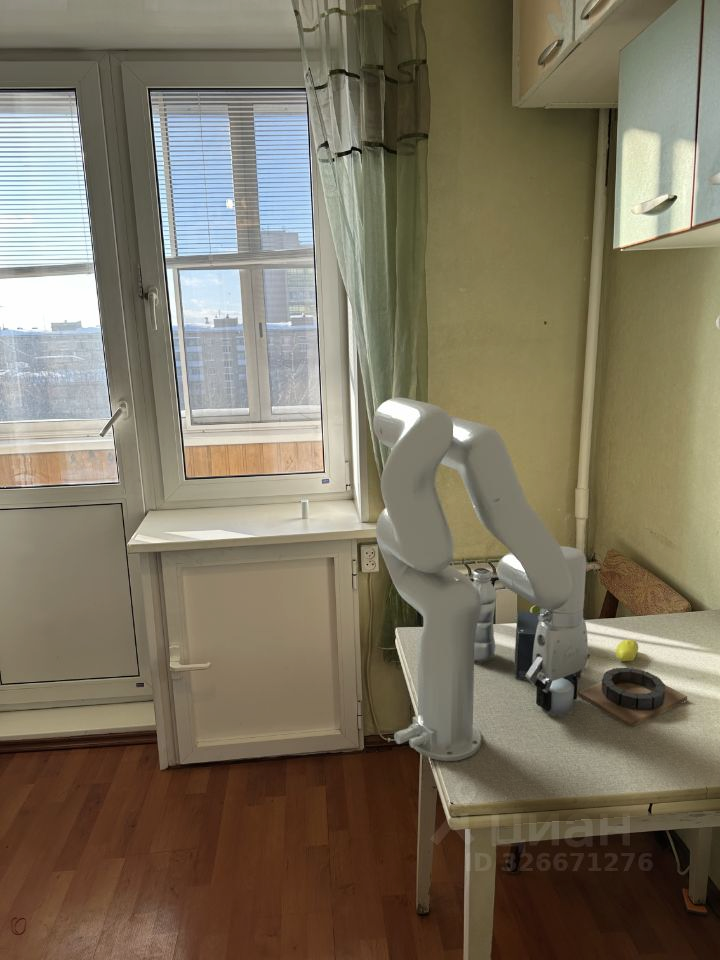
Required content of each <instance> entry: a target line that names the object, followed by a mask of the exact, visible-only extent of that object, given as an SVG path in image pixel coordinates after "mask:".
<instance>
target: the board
mask: <svg viewBox="0 0 720 960" xmlns="http://www.w3.org/2000/svg"><path fill="white" fill-rule="evenodd" d="M615 686H616V687H618V688H620V689H622V690H624V691H627V692H631V693H635V694H646V693H650V692H651V691H650V690H648V689H647V688H645V687H643V686H640V685H636V684H632V683H619V684H617V685H615ZM665 686H666V689H665V698H664V703H663V705H662V706H661V707H658V708H656V709H654V710H645V711H637V709H636V710H632V709H628V708H624V707H621V705H620V706H618V705H616V704H614V703H613V702H611V701H609V700H607V699H606V697H605V696H604V694H603V693H602V690H601V689H602V682H599V683H597V684H594V685H592V686H590V687H587V688H585V689H583V690H581V691H578V697H579V698H580V699H582V700H584V702H585V701H586V702H587V703H589V704H590V705H592V706H594V707H595V708H597V709H598V710H599V711H601V712H604V714H607V715H609V717H612V718H614V719H615V720H616V721H618V722H620V723H622V724H624V725H625V726H627V727H629V728H630V729H631V728H633V727H635V726H637V725H640V724H641V723H644V722H646V721H648V720H650V719H652V718H654V717H656V716H659V715H660V714H663V713H665V712H667V711H669V710H671V709H673V708H675V707H678V706H679V705H681V703H682V702H684V701H686V700H687V701H688V695H685V694H683V693H682V692H680V691H678V690H676V689H674V688H673V687H670V686H668V685H666V684H665ZM687 701H686V702H687ZM684 703H685V702H684ZM678 704H679V705H678ZM682 704H683V703H682Z"/></svg>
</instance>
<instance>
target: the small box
mask: <svg viewBox="0 0 720 960" xmlns="http://www.w3.org/2000/svg"><path fill="white" fill-rule="evenodd" d="M539 615H540V613H533V612H530V611H521V610H517V611H516V632H515V647H514V675H515V676H514V678H515V680H528V679H527V678H526V677H525V676H526V674H527V672H528V670H529V669H530V667H531V666H532V664H533V648H534V640H535V635H536V630H537V626H538V622H539V620H538V616H539ZM545 678H546V677H544V676H543V679H545ZM543 679H542V680H543ZM528 681H529V680H528Z"/></svg>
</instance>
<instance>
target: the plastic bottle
mask: <svg viewBox="0 0 720 960" xmlns="http://www.w3.org/2000/svg"><path fill="white" fill-rule="evenodd" d="M491 571H492V570H491V569H490V568H488V567H476V568H474V569H473V572H472V574H473V575H472V580H473V581H472V582H473V583H474V584H475V586H476V587H477V589H478V591H479V594H480V597H481V610H480V615H479V619H478V623H477V627H476V633H475V645H474V662H487V661H490V660H491V659H492V658H493V657H494V656H495V652H496V641H495V631H494V618H495V608H496V603H497V598H498V597H497V596H498V594H497V590H496V588H495V587H494V585H493V583H491V580H492V577H491V574H492V572H491Z"/></svg>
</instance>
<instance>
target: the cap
mask: <svg viewBox="0 0 720 960" xmlns="http://www.w3.org/2000/svg"><path fill="white" fill-rule="evenodd" d="M545 681H546V678H545V679H543V680H542V682H543V683H544V684H545ZM549 691H551V692H552V697H551V710H550V711H546V710H544V709H543V708H541V710H543V712H545V713H548V714H550V715H553V716H565V715H569V714H571V713H572V712H573V711H574V700H573V697H574V685H573V684H572V683H571V682H570V681H569V680H567V679H564V678H560V679H558V680H554V681H552V684H551V686H550V689H549Z"/></svg>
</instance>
